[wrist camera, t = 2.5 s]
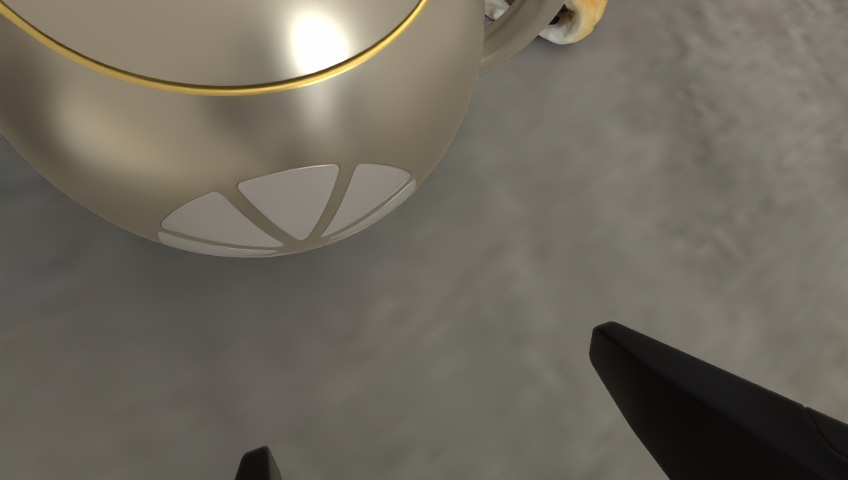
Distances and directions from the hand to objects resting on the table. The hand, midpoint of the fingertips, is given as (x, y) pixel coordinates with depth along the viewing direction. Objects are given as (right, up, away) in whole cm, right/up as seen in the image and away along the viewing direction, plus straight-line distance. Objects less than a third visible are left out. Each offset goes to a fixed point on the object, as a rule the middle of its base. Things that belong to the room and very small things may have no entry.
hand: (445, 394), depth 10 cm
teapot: (-6, +8, +13) cm, 16 cm away
